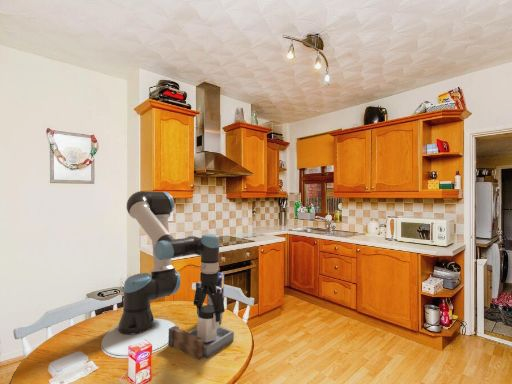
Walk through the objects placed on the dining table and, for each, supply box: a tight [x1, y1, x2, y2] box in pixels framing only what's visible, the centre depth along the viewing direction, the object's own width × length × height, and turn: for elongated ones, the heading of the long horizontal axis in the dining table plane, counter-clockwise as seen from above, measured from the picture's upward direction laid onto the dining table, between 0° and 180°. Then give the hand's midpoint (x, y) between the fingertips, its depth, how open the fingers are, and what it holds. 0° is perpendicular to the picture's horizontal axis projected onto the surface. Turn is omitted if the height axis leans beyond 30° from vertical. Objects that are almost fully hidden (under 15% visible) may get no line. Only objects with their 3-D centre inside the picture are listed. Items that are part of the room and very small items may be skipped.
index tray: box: [187, 325, 235, 359], centre depth 112 cm, size 15×16×4 cm
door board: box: [167, 325, 204, 361], centre depth 106 cm, size 17×3×7 cm, turn 55°
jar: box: [196, 304, 218, 343], centre depth 113 cm, size 9×8×12 cm
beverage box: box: [206, 271, 225, 325], centre depth 135 cm, size 7×11×22 cm, turn 1°
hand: (208, 325), depth 113 cm, fingers closed on jar, 8 cm apart
